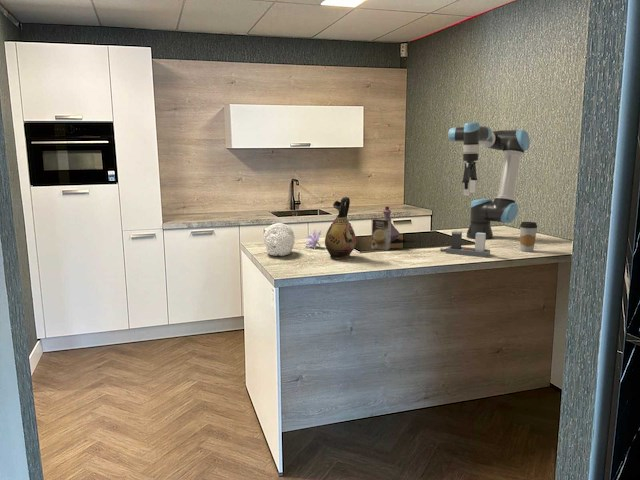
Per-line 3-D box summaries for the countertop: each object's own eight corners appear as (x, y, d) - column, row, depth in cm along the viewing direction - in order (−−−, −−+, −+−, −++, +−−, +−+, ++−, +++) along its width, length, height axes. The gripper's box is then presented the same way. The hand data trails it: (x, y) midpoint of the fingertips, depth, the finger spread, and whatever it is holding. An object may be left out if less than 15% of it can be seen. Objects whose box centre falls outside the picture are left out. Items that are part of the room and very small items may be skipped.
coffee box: (370, 248, 273) (371, 219, 270) (374, 246, 278) (375, 217, 276) (387, 250, 269) (387, 220, 266) (390, 248, 275) (391, 218, 272)
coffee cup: (534, 250, 268) (536, 222, 265) (536, 253, 260) (538, 224, 257) (518, 249, 270) (519, 221, 268) (518, 252, 263) (520, 223, 260)
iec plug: (476, 253, 256) (477, 232, 254) (484, 254, 254) (485, 233, 252) (474, 255, 252) (475, 233, 250) (482, 256, 250) (483, 234, 248)
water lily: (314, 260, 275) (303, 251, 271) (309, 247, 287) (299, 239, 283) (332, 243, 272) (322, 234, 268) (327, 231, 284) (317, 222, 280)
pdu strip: (443, 250, 267) (443, 243, 266) (490, 255, 255) (490, 248, 254) (437, 253, 260) (438, 246, 259) (485, 258, 247) (486, 251, 247)
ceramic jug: (346, 261, 242) (346, 199, 236) (319, 258, 250) (318, 197, 244) (362, 255, 256) (363, 196, 250) (336, 252, 264) (336, 195, 258)
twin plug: (453, 251, 262) (454, 230, 260) (460, 252, 260) (461, 231, 258) (450, 252, 258) (451, 231, 256) (458, 253, 256) (459, 232, 254)
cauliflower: (256, 235, 267) (273, 212, 260) (284, 247, 274) (301, 226, 267) (258, 258, 251) (275, 234, 244) (287, 271, 258) (305, 248, 251)
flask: (405, 242, 291) (406, 207, 287) (378, 243, 287) (378, 208, 283) (394, 237, 306) (394, 204, 303) (368, 238, 302) (369, 205, 299)
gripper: (469, 152, 274) (467, 191, 279) (457, 154, 253) (456, 196, 257) (483, 152, 271) (481, 191, 275) (472, 154, 250) (471, 196, 254)
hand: (469, 194), depth 266 cm, fingers open, 13 cm apart
